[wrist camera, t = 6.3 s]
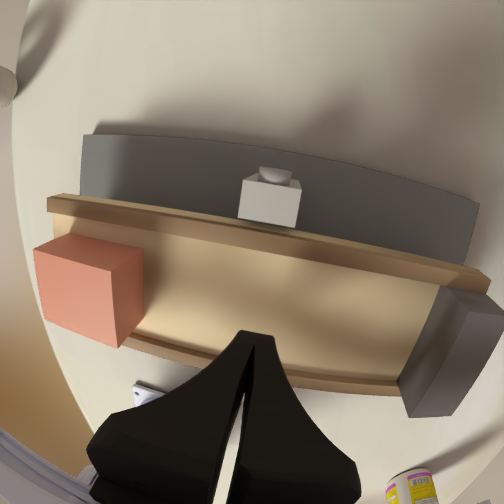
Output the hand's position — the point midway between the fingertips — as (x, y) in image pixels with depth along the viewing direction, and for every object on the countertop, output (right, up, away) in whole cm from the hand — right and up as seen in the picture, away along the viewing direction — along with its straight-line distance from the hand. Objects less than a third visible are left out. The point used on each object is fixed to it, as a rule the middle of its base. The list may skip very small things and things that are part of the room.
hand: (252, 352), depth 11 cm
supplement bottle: (+21, -27, +15) cm, 37 cm away
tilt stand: (+1, +3, +8) cm, 9 cm away
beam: (0, +1, +3) cm, 4 cm away
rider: (-8, +3, +4) cm, 9 cm away
